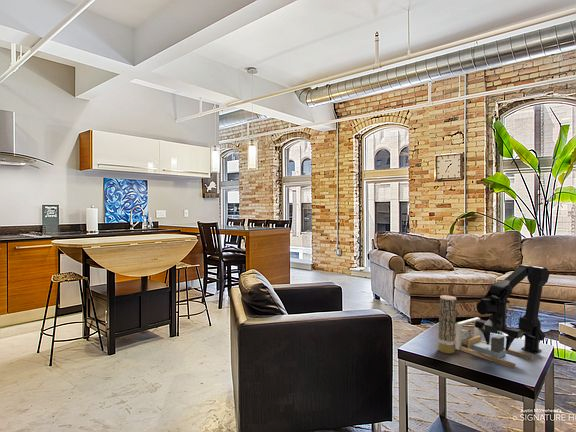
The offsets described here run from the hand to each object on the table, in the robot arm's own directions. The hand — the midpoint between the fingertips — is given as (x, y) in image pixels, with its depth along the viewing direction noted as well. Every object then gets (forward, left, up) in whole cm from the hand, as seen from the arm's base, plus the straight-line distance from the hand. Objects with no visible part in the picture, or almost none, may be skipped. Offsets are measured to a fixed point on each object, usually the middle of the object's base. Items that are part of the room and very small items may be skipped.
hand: (497, 347), depth 169 cm
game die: (+1, -15, -4) cm, 16 cm away
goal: (0, -14, -4) cm, 14 cm away
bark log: (+16, -15, -4) cm, 22 cm away
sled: (0, -4, -4) cm, 6 cm away
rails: (0, -1, -4) cm, 4 cm away
